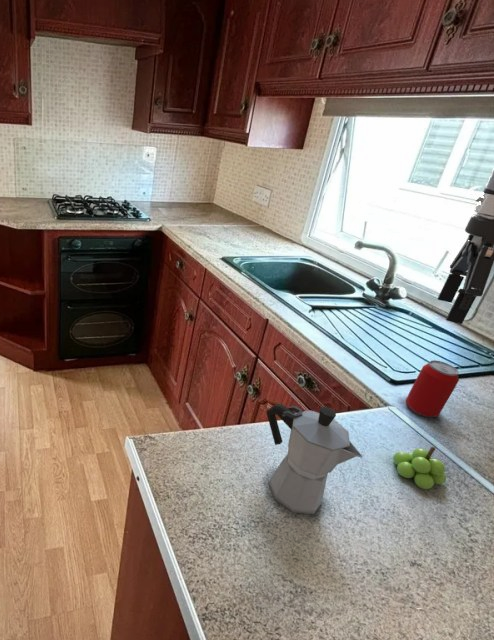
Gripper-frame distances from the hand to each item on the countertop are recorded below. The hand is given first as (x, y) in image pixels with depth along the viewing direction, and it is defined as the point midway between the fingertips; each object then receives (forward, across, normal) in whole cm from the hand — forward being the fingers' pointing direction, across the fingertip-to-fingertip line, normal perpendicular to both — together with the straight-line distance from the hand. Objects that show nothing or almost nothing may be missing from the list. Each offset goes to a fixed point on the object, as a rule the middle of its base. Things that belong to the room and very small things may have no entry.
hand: (448, 310), depth 91 cm
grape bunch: (+22, +32, -1) cm, 39 cm away
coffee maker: (+23, +50, -21) cm, 59 cm away
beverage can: (+23, +7, +2) cm, 24 cm away
